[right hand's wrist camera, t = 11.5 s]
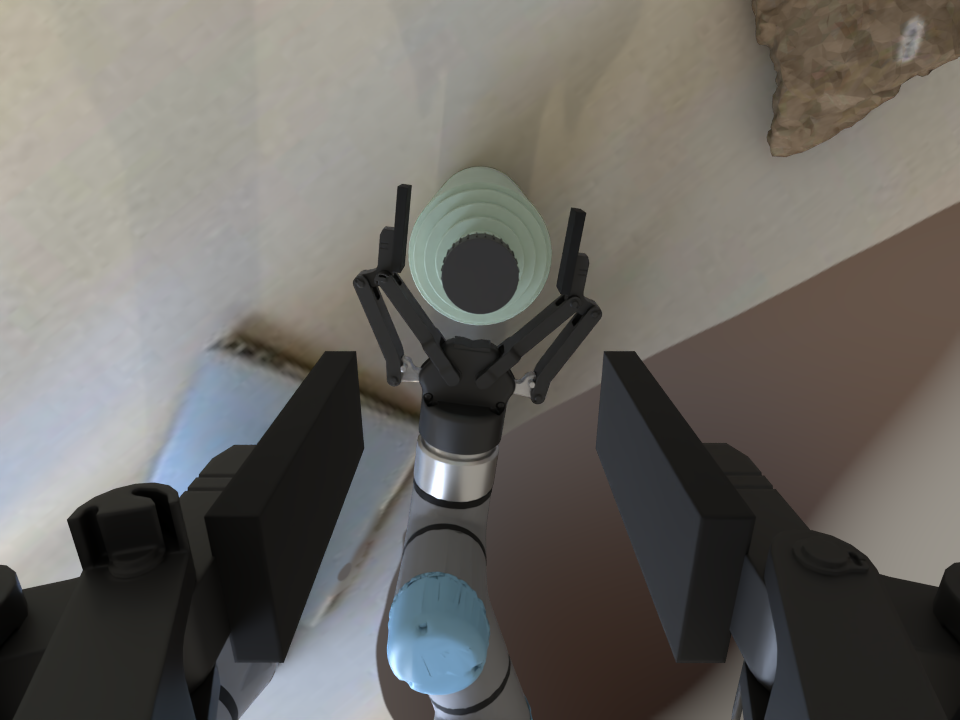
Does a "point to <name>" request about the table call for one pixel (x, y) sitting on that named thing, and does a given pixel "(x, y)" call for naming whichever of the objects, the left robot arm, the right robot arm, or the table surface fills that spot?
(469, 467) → the left robot arm
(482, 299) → the cap
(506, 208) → the bottle
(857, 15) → the stone
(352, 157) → the table surface
